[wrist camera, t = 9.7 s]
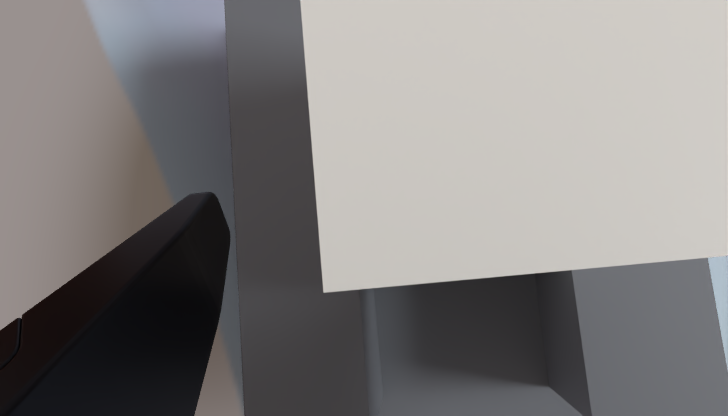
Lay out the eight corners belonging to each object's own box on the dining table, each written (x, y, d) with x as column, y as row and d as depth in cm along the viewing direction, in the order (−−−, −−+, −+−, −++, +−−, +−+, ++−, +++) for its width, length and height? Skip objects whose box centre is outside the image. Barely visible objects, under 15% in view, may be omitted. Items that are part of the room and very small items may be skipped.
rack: (662, 406, 16) (768, 463, 11) (282, 428, 17) (227, 489, 12) (595, -14, 18) (661, -123, 13) (259, 31, 19) (203, -54, 14)
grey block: (508, 270, 16) (794, 250, 4) (396, 281, 16) (323, 292, 4) (488, 115, 17) (672, -326, 5) (381, 128, 17) (281, -251, 5)
